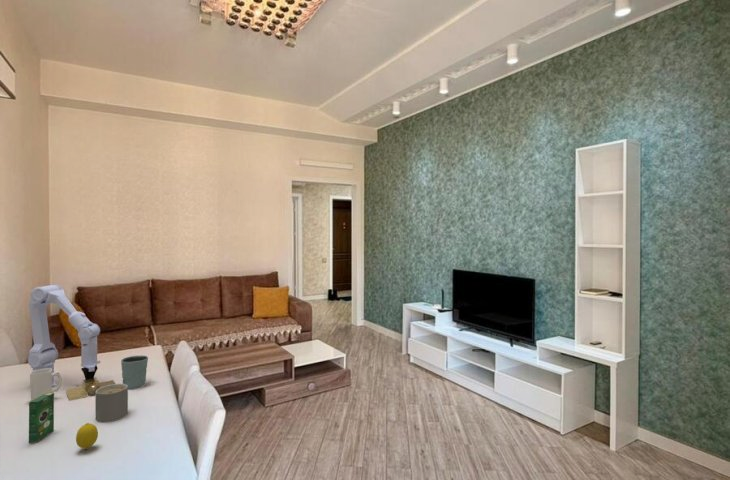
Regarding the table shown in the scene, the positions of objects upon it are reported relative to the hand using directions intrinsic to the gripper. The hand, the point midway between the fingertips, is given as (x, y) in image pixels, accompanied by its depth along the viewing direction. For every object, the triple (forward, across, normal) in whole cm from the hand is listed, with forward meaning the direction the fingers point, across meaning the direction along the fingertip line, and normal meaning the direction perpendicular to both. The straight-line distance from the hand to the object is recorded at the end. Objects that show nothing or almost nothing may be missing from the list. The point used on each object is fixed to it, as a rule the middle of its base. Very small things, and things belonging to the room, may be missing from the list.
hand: (89, 383), depth 173 cm
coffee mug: (+1, -38, -2) cm, 39 cm away
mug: (+1, -7, +15) cm, 17 cm away
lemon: (+1, -62, +8) cm, 62 cm away
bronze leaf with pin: (+1, -7, -3) cm, 8 cm away
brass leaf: (+1, -7, +3) cm, 8 cm away
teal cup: (+1, -12, -15) cm, 20 cm away
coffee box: (+1, -42, +18) cm, 46 cm away
